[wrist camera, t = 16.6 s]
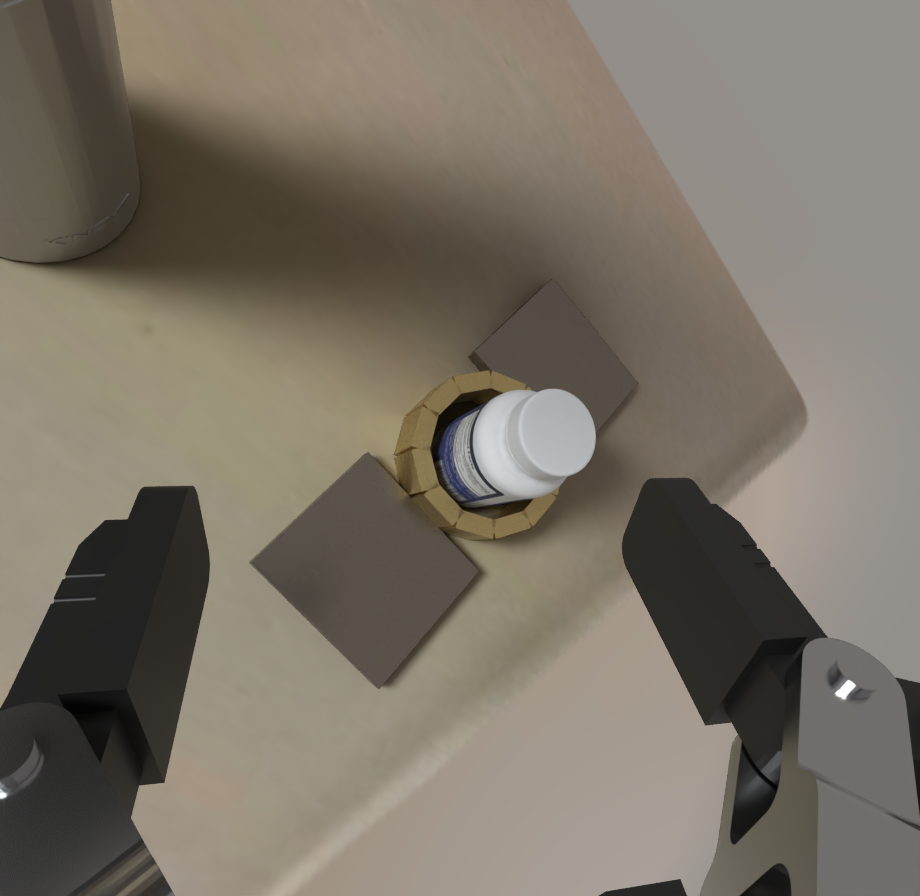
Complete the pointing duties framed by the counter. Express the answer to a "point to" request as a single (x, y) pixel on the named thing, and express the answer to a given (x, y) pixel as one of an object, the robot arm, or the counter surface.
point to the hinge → (429, 497)
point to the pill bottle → (513, 447)
